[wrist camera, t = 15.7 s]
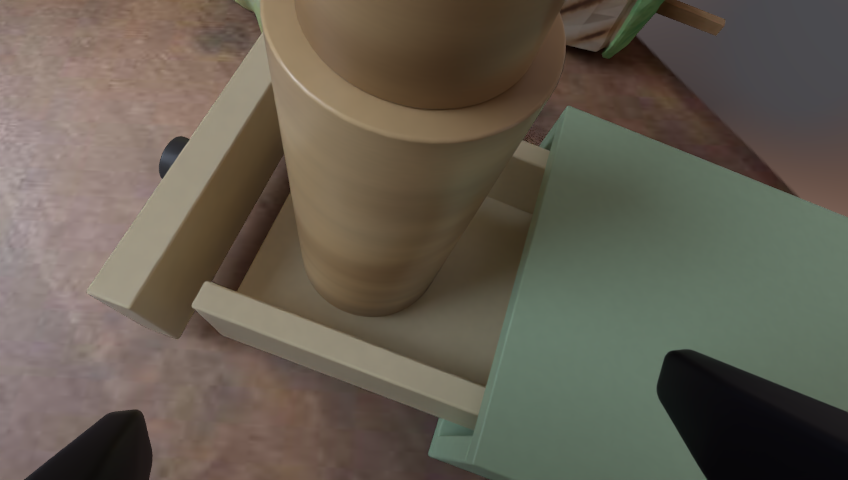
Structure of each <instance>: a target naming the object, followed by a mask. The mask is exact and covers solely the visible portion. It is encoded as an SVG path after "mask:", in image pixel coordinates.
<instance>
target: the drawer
mask: <svg viewBox="0 0 848 480" xmlns="http://www.w3.org/2000/svg"><path fill="white" fill-rule="evenodd" d="M549 153H550V151H549V150H546V149H543V148H541V147H538V146H536V145H533V144H531V143H528V142H526V141H523V140H522V142H521V143H520V145H519V146H518V148H517V150H516V151H515V153H514V154H513V156H512V157H511V159H510V161H509V162H508V164H507V165H506V167H505V168H504V170H503V172H502V173H501V175H500V176H499V178H498V179H497V181H496V183H495V184H494V186H493V187H492V189H491V190H490V192H489V194H488V195H487V197H486V198H485V200H484V201H483V203H482V205H481V206H480V208H479V209H478V211H477V212H476V214H475V216H474V217H473V219H472V220H471V222H470V223H469V225H468V227H467V228H466V230H465V231H464V233H463V234H462V236H461V238H460V239H459V241H458V242H457V244H456V245H455V247H454V249H453V250H452V252H451V253H450V255H449V256H448V258H447V260H446V261H445V263H444V264H443V266H442V267H441V269H440V271H439V272H438V274H437V275H436V277H435V278H434V280H433V282H432V283H431V285H430V286H429V288H428V289H427V291H426V292H425V293H424V294H423V296H422V297H420V298H419V299H418V300H417V301H416V302H415V303H413V304H412V305H411V306H409V307H408V308H406V309H404V310H402V311H399V312H397V313H394V314H391V315H386V316H380V317H363V316H357V315H353V314H350V313H347V312H344V311H342V310H340V309H338V308H336V307H334V306H333V305H331V304H330V303H328V302H327V301H326V300H325V299H323V298H322V297H321V296H320V294H319V293H318V292H317V291H316V290H315V289H314V287H313V286H312V284H311V283H310V281H309V279H308V277H307V274H306V271H305V268H304V264H303V259H302V253H301V247H300V241H299V236H298V230H297V224H296V218H295V213H294V207H293V201H292V196H291V191H290V193H289V195H288V197H287V199H286V200H285V202H284V204H283V206H282V208H281V210H280V212H279V214H278V215H277V217H276V219H275V221H274V223H273V225H272V227H271V228H270V230H269V232H268V234H267V236H266V238H265V240H264V241H263V243H262V245H261V247H260V249H259V251H258V253H257V255H256V256H255V258H254V260H253V262H252V264H251V266H250V268H249V269H248V271H247V273H246V275H245V277H244V279H243V281H242V283H241V284H240V286H239V288H238V290H237V292H236V291H233V290H231V289H228V288H226V287H223V286H220V285H218V284H215V283H212V282H211V281H212V280H213V278H214V276H215V274H216V273H217V271H218V269H219V267H220V265H221V264H222V262H223V260H224V258H225V257H226V255H227V253H228V251H229V250H230V248H231V246H232V244H233V243H234V241H235V239H236V237H237V235H238V234H239V232H240V230H241V228H242V227H243V225H244V223H245V221H246V220H247V218H248V216H249V214H250V213H251V211H252V209H253V207H254V205H255V204H256V202H257V200H258V198H259V197H260V195H261V193H262V191H263V190H264V188H265V186H266V184H267V182H268V181H269V179H270V177H271V175H272V174H273V172H274V170H275V168H276V167H277V165H278V163H279V161H280V160H281V158H282V156H283V154H284V150H283V144H282V138H281V132H280V127H279V121H278V115H277V109H276V104H275V98H274V92H273V86H272V81H271V75H270V69H269V63H268V58H267V52H266V46H265V40H264V35H263V32H262V34H261V35H260V37H259V38H258V40H257V41H256V43H255V44H254V46H253V47H252V49H251V50H250V51H249V53H248V54H247V56H246V57H245V59H244V60H243V62H242V63H241V65H240V66H239V68H238V69H237V71H236V72H235V74H234V75H233V76H232V78H231V79H230V81H229V82H228V84H227V85H226V87H225V88H224V90H223V91H222V93H221V94H220V96H219V97H218V98H217V100H216V101H215V103H214V104H213V106H212V107H211V109H210V110H209V112H208V113H207V115H206V116H205V118H204V119H203V120H202V122H201V123H200V125H199V126H198V128H197V129H196V131H195V132H194V134H193V135H192V137H191V138H190V139H188V138H186V137H182V136H180V137H176V138H174V139H173V140H171V141H170V142H169V144H168V145H167V146H166V148H165V149H164V151H163V153H162V156H161V159H160V164H159V173H160V176H161V178H162V181H161V182H160V184H159V185H158V186H157V188H156V189H155V191H154V192H153V194H152V195H151V197H150V198H149V200H148V201H147V203H146V204H145V206H144V207H143V208H142V210H141V211H140V213H139V214H138V216H137V217H136V219H135V220H134V222H133V223H132V225H131V226H130V228H129V229H128V230H127V232H126V233H125V235H124V236H123V238H122V239H121V241H120V242H119V244H118V245H117V247H116V248H115V250H114V251H113V253H112V254H111V255H110V257H109V258H108V260H107V261H106V263H105V264H104V266H103V267H102V269H101V270H100V272H99V273H98V275H97V276H96V277H95V279H94V280H93V282H92V283H91V285H90V286H89V288H88V289H87V293H88V294H89V295H90V296H92V297H94V298H95V299H97V300H99V301H101V302H102V303H104V304H106V305H107V306H109V307H111V308H113V309H114V310H116V311H118V312H119V313H121V314H123V315H125V316H126V317H128V318H130V319H131V320H133V321H135V322H137V323H138V324H140V325H142V326H144V327H145V328H147V329H150V330H153V331H155V332H158V333H161V334H163V335H166V336H169V337H171V338H174V339H179V338H180V336H181V334H182V333H183V331H184V329H185V327H186V326H187V324H188V322H189V320H190V318H191V317H192V315H193V313H194V311H195V310H196V311H197V312H198V313H199V314H200V315H201V316H202V317H203V318H204V319H205V320H206V321H208V322H209V323H210V324H211V325H212V326H213V327H214V328H215V329H216V330H217V331H218V332H219V333H220V334H221V335H222V336H225V337H228V338H230V339H233V340H236V341H238V342H241V343H244V344H246V345H249V346H251V347H254V348H257V349H259V350H262V351H265V352H267V353H270V354H273V355H275V356H278V357H281V358H283V359H286V360H288V361H291V362H294V363H296V364H299V365H302V366H304V367H307V368H310V369H312V370H315V371H318V372H320V373H323V374H325V375H328V376H331V377H333V378H336V379H339V380H341V381H344V382H347V383H349V384H352V385H355V386H357V387H360V388H362V389H365V390H368V391H370V392H373V393H376V394H378V395H381V396H384V397H386V398H389V399H392V400H394V401H397V402H399V403H402V404H405V405H407V406H410V407H413V408H415V409H418V410H421V411H423V412H426V413H429V414H431V415H434V416H436V417H439V418H442V419H444V420H447V421H450V422H452V423H455V424H458V425H460V426H463V427H466V428H468V429H471V430H473V431H474V429H475V425H476V422H477V418H478V414H479V411H480V407H481V403H482V400H483V396H484V392H485V389H486V385H487V381H488V378H489V374H490V370H491V366H492V363H493V359H494V355H495V352H496V348H497V344H498V341H499V337H500V333H501V330H502V326H503V322H504V319H505V315H506V311H507V308H508V304H509V300H510V297H511V293H512V289H513V286H514V282H515V278H516V274H517V271H518V267H519V263H520V260H521V256H522V252H523V249H524V245H525V241H526V238H527V234H528V230H529V227H530V223H531V219H532V216H533V212H534V208H535V205H536V201H537V197H538V194H539V190H540V186H541V182H542V179H543V175H544V171H545V168H546V164H547V160H548V157H549Z"/></svg>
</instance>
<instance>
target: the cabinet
mask: <svg viewBox="0 0 848 480" xmlns="http://www.w3.org/2000/svg"><path fill="white" fill-rule="evenodd" d="M539 147H541V148H543V149H546V150H549V151H550V153H549V157H548V160H547V164H546V168H545V171H544V175H543V179H542V182H541V186H540V190H539V194H538V197H537V201H536V205H535V208H534V212H533V216H532V219H531V223H530V227H529V230H528V234H527V238H526V241H525V245H524V249H523V252H522V256H521V260H520V263H519V267H518V271H517V274H516V278H515V282H514V286H513V289H512V293H511V297H510V300H509V304H508V308H507V311H506V315H505V319H504V322H503V326H502V330H501V333H500V337H499V341H498V344H497V348H496V352H495V355H494V359H493V363H492V366H491V370H490V374H489V378H488V381H487V385H486V389H485V392H484V396H483V400H482V403H481V407H480V411H479V414H478V418H477V422H476V425H475V429H474V431H473V430H471V429H468V428H466V427H463V426H460V425H458V424H455V423H452V422H450V421H447V420H444V419H442V418H439V420H438V423H437V426H436V429H435V433H434V436H433V439H432V443H431V446H430V449H429V452H428V455H429V456H430V457H432V458H435V459H437V460H440V461H443V462H445V463H448V464H451V465H453V466H456V467H459V468H461V469H464V470H467V471H469V472H472V473H475V474H477V475H480V476H482V477H485V478H488V479H490V480H707V479H706V477H705V476H704V474H703V473H702V471H701V470H700V468H699V466H698V465H697V463H696V461H695V460H694V458H693V456H692V455H691V453H690V451H689V449H688V448H687V446H686V444H685V443H684V441H683V439H682V438H681V436H680V434H679V432H678V431H677V429H676V427H675V426H674V424H673V422H672V421H671V419H670V417H669V415H668V414H667V412H666V410H665V409H664V407H663V405H662V404H661V402H660V400H659V398H658V395H657V390H656V386H657V382H658V378H659V374H660V371H661V367H662V364H663V360H664V357H665V355H666V354H667V353H668V352H669V351H672V350H681V349H691V350H694V351H697V352H699V353H702V354H704V355H707V356H709V357H712V358H714V359H717V360H719V361H722V362H724V363H727V364H729V365H732V366H734V367H737V368H739V369H742V370H744V371H747V372H749V373H752V374H754V375H757V376H759V377H762V378H764V379H767V380H769V381H772V382H774V383H777V384H779V385H782V386H784V387H787V388H789V389H792V390H794V391H797V392H799V393H802V394H804V395H807V396H809V397H812V398H814V399H817V400H819V401H822V402H824V403H827V404H829V405H832V406H834V407H837V408H839V409H842V410H844V411H847V412H848V217H845V216H843V215H840V214H838V213H836V212H833V211H831V210H828V209H826V208H823V207H821V206H818V205H816V204H813V203H811V202H808V201H806V200H803V199H801V198H798V197H796V196H793V195H791V194H788V193H786V192H783V191H781V190H778V189H776V188H773V187H771V186H768V185H766V184H763V183H761V182H758V181H756V180H753V179H751V178H748V177H746V176H743V175H741V174H738V173H736V172H733V171H731V170H728V169H726V168H723V167H721V166H718V165H716V164H713V163H711V162H708V161H706V160H703V159H701V158H698V157H696V156H693V155H691V154H688V153H686V152H683V151H681V150H678V149H676V148H673V147H671V146H668V145H666V144H663V143H661V142H658V141H656V140H653V139H651V138H648V137H646V136H643V135H641V134H638V133H636V132H633V131H631V130H628V129H626V128H623V127H621V126H618V125H616V124H613V123H611V122H608V121H606V120H603V119H601V118H598V117H596V116H593V115H591V114H588V113H586V112H583V111H581V110H578V109H576V108H573V107H571V106H567V107H566V109H565V110H564V111H563V113H562V114H561V116H560V117H559V119H558V120H557V122H556V123H555V124H554V126H553V127H552V129H551V130H550V131H549V133H548V134H547V136H546V137H545V139H544V140H543V141H542V143H541V144H540V146H539Z"/></svg>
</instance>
